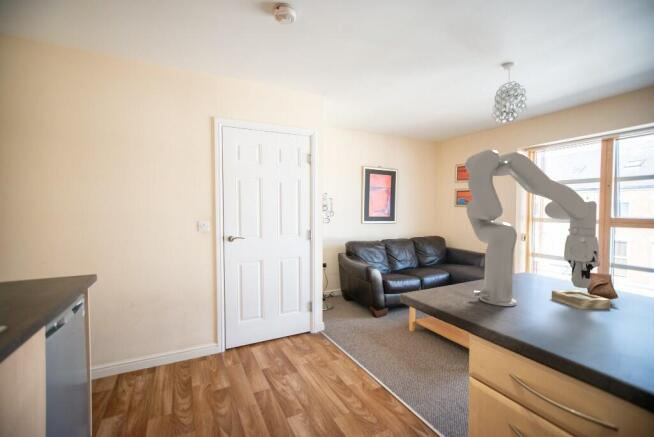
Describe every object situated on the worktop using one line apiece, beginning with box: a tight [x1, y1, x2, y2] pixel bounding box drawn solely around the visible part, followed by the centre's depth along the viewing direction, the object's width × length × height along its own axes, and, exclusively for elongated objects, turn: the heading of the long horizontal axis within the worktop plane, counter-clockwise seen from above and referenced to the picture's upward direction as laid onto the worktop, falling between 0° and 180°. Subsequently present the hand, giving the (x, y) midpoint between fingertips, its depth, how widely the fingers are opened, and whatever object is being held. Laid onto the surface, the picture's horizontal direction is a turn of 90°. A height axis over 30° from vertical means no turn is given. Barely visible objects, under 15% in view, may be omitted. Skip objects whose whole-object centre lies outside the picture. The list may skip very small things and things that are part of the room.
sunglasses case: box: [586, 272, 619, 301], centre depth 115 cm, size 18×7×7 cm
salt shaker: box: [570, 261, 591, 289], centre depth 109 cm, size 6×6×13 cm
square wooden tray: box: [551, 289, 611, 310], centre depth 109 cm, size 12×12×3 cm
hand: (580, 278), depth 109 cm, fingers closed on salt shaker, 3 cm apart
